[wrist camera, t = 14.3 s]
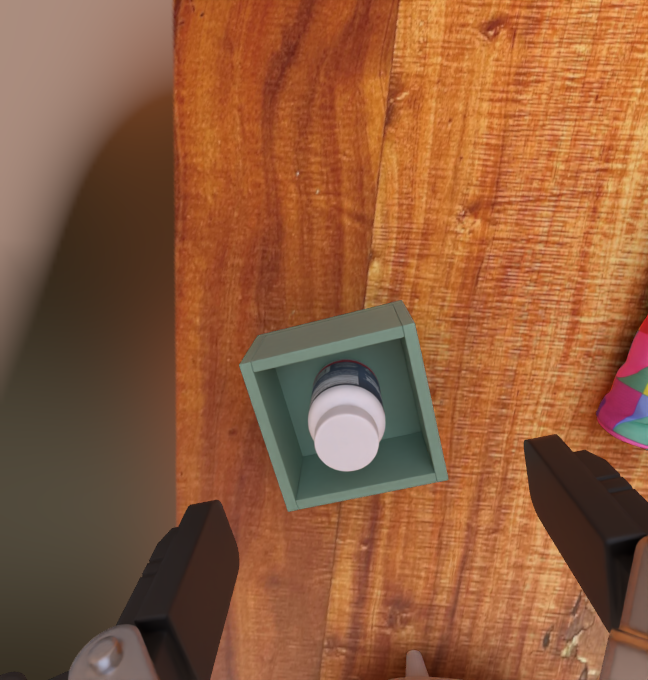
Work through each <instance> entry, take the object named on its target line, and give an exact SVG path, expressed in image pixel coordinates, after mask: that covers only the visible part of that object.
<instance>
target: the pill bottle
mask: <svg viewBox="0 0 648 680" xmlns="http://www.w3.org/2000/svg"><path fill="white" fill-rule="evenodd" d="M308 427H309V431H310V434H311V436H312V438H313V440H314V445H315V450H316V452H317V455H318V456H319V458H320V459H321V460H322V461H323V462H324V463H325V464H326V465H327V466H329V467H331V468H333V469H335V470H339V471H355V470H358V469H361V468H363V467H365V466H366V465H368V464H369V463H370V462H371V461H372V460H373V459H374V457H375V456H376V454H377V451H378V447H379V442H380V440H381V439H382V436H383V434H384V431H385V412H384V408H383V402H382V398H381V391H380V386H379V382H378V379H377V377H376V375H375V373H374V372H373V371H372V369H371V368H370V367H368V366H367V365H366V364H364V363H363V362H361V361H358V360H355V359H347V358H346V359H338V360H334V361H332V362H330V363H328V364H327V365H325V366H324V367H323V368H322V369H321V370H320V371H319V372H318V374H317V376H316V378H315V381H314V384H313V390H312V396H311V403H310V408H309V413H308Z"/></svg>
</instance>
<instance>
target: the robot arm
mask: <svg viewBox="0 0 648 680" xmlns="http://www.w3.org/2000/svg"><path fill="white" fill-rule="evenodd" d="M524 453H525V460H526V468H527V475H528V483H529V490H530V496H531V500H532V503H533V506H534V509H535V511H536V513H537V515H538V517H539V519H540V521H541V522H542V524H543V526H544V527H545V529H546V531H547V532H548V534H549V536H550V537H551V539H552V540H553V542H554V544H555V545H556V547H557V549H558V550H559V552H560V553H561V555H562V557H563V558H564V560H565V562H566V563H567V565H568V567H569V568H570V570H571V571H572V573H573V575H574V576H575V578H576V580H577V581H578V583H579V584H580V586H581V588H582V589H583V591H584V593H585V594H586V596H587V598H588V599H589V601H590V602H591V604H592V606H593V607H594V609H595V611H596V612H597V614H598V616H599V617H600V619H601V620H602V622H603V624H604V625H605V627H606V629H607V630H608V632H609V633H610V635H609V638H608V642H607V647H606V651H605V656H604V660H603V665H602V669H601V674H600V678H599V680H648V502H647V501H646V500H645V499H644V498H643V497H642V496H641V495H640V494H639V493H638V492H637V491H636V490H635V489H632V486H631V485H630V484H629V483H628V482H627V481H626V480H625V479H624V478H623V477H621V476H620V474H619V473H618V472H617V471H616V470H615V469H614V468H613V467H612V466H611V465H610V464H609V463H608V462H607V461H606V460H605V459H602V458H600V457H598V456H596V455H594V454H592V453H590V452H588V451H586V450H582V451H577V452H572V450H571V449H570V448H569V447H568V446H567V445H566V444H565V443H564V442H563V440H562V439H561V438H560V437H559V436H558V435H556V434H554V435H548V436H543V437H538V438H533V439H528V440H525V441H524ZM149 561H150V563H148V564H147V566H146V568H145V570H144V571H143V573H142V574H143V576H142V577H141V578H140V579H139V581H138V584H137V585H136V587H135V589H134V591H133V593H132V595H131V597H130V599H129V601H128V603H127V605H126V607H125V609H124V610H123V613H122V614H121V616H120V618H119V621H118V622H117V624H116V626H114V627H111V628H109V629H107V630H105V631H103V632H102V633H100V634H99V635H97V636H96V637H94V638H93V639H92V640H91V641H90V642H88V643H87V645H85V646H84V647H83V649H82V650H81V651H80V652H79V654H78V655H77V656H76V658H75V659H74V661H73V663H72V665H71V668H70V670H69V671H67V672H64V673H62V674H60V675H58V676H56V677H53V678H51V679H49V680H210V677H211V674H212V670H213V666H214V662H215V658H216V655H217V651H218V647H219V643H220V639H221V635H222V632H223V628H224V624H225V620H226V616H227V613H228V609H229V605H230V601H231V597H232V594H233V590H234V586H235V582H236V578H237V575H238V570H239V552H238V547H237V544H236V541H235V538H234V536H233V533H232V530H231V528H230V525H229V522H228V519H227V517H226V514H225V511H224V509H223V506H222V504H221V502H220V501H219V500H213V501H208V502H203V503H197V504H192V505H190V506H189V507H188V508H187V510H186V512H185V514H184V516H183V518H182V520H181V522H180V524H179V527H175V528H172V529H171V530H170V531H169V532H168V533H167V534H166V535H165V536H164V537H163V539H162V540H161V541H160V542H159V543H158V544H157V546H156V548H155V550H154V552H153V554H152V556H151V558H150V560H149ZM0 680H27V679H26V677H25V675H23V674H22V673H20V672H9V673H6V674H2V675H0Z"/></svg>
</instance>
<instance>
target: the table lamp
mask: <svg viewBox="0 0 648 680" xmlns="http://www.w3.org/2000/svg"><path fill="white" fill-rule="evenodd" d="M390 680H461V679H453V678H439V677H429V675H428V672H427V669H426V667H425V664H424V661H423V658H422V655H421V653H420V652H419V651H417V650H410V651H408V652H407V654H406V677H402V678H394V679H390Z"/></svg>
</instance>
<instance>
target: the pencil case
mask: <svg viewBox="0 0 648 680" xmlns="http://www.w3.org/2000/svg"><path fill="white" fill-rule="evenodd" d="M596 416H597V420H598V422H599V424H600V425H601V426H602V427H603V428H604V429H605V430H606V431H607V432H608V433H610V434H611V435H613V436H614V437H616V438H618V439H619V440H621V441H624V442H626V443H629V444H632V445H635V446H638V447H640V448H643V449H645V450H648V315H647V317H646V319H645V320H644V321H643V323H642V324H641V326H640V328H639V329H638V331H637V333H636V335H635V337H634V340H633V342H632V345H631V347H630V350H629V353H628V357H627V360H626V362H625V363H624V364H623V365H622V366H621V367H620V369H619V370H618V372H617V374H616V376H615V379H614V381H613V384H612V387H611V390H610V392H609V393H608V394H606V395H605V396H604V398H603V399H602V401H601V403H600V405H599V408H598V410H597V411H596Z"/></svg>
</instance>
